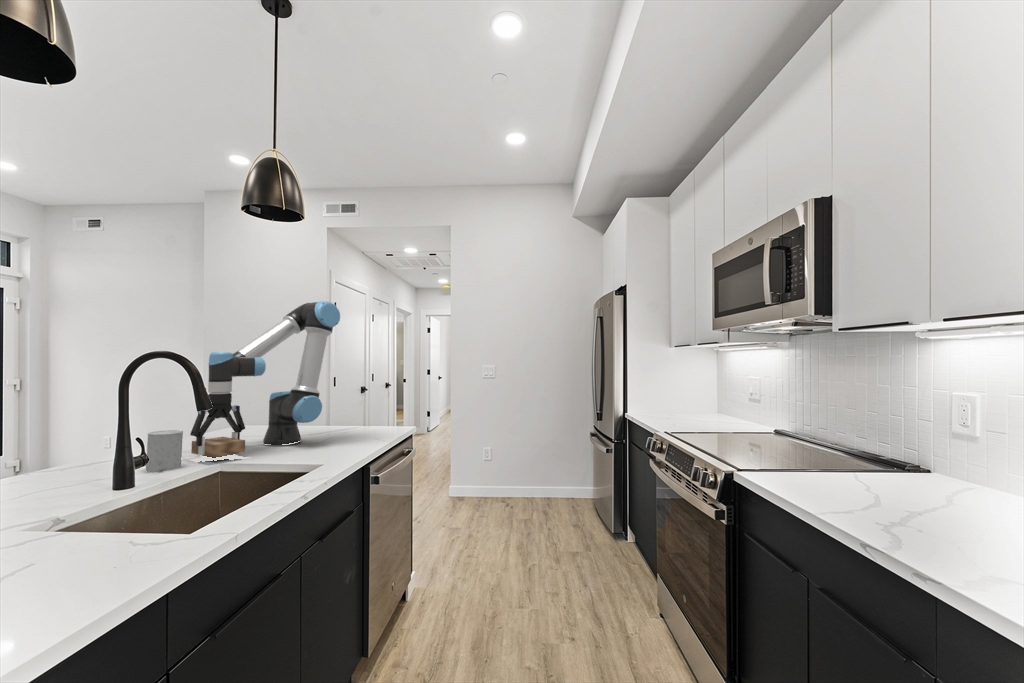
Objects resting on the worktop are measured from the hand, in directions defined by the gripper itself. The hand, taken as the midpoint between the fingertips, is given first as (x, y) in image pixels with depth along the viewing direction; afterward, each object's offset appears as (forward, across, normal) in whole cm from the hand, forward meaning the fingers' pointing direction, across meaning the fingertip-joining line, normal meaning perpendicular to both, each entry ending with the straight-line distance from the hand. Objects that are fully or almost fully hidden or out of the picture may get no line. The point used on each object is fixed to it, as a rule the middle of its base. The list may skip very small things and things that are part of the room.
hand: (218, 452), depth 170 cm
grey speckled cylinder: (+2, +19, +2) cm, 19 cm away
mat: (+3, 0, 0) cm, 3 cm away
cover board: (0, 0, 0) cm, 0 cm away
